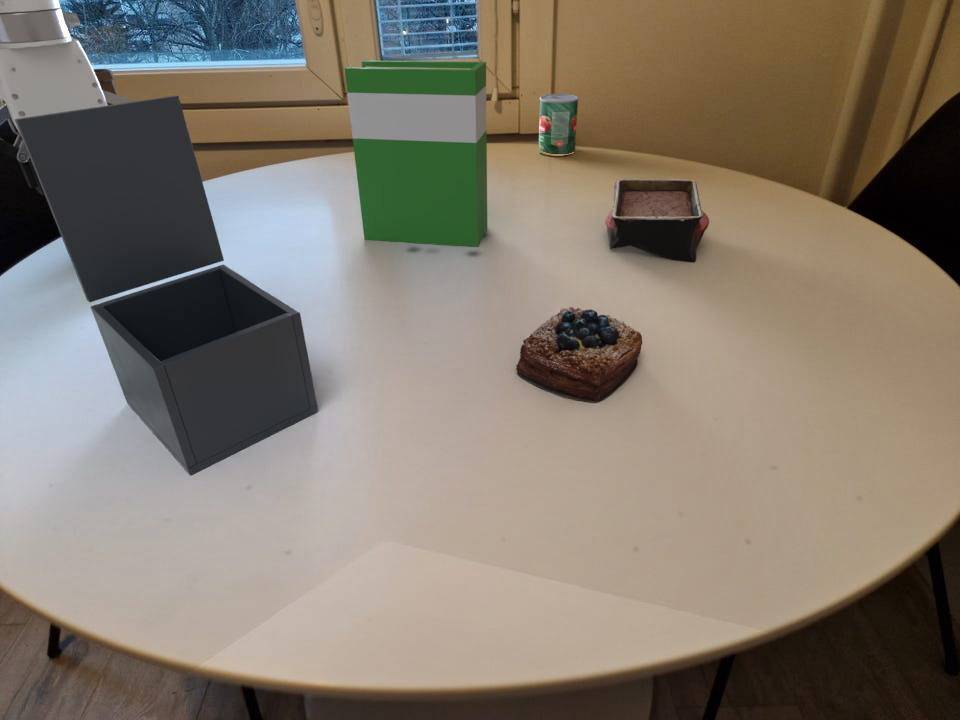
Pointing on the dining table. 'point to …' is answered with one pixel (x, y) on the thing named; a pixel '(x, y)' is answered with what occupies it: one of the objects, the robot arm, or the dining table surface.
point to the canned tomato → (558, 123)
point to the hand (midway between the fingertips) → (85, 182)
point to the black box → (209, 363)
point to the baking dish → (657, 217)
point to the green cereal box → (420, 150)
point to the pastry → (580, 355)
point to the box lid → (123, 192)
